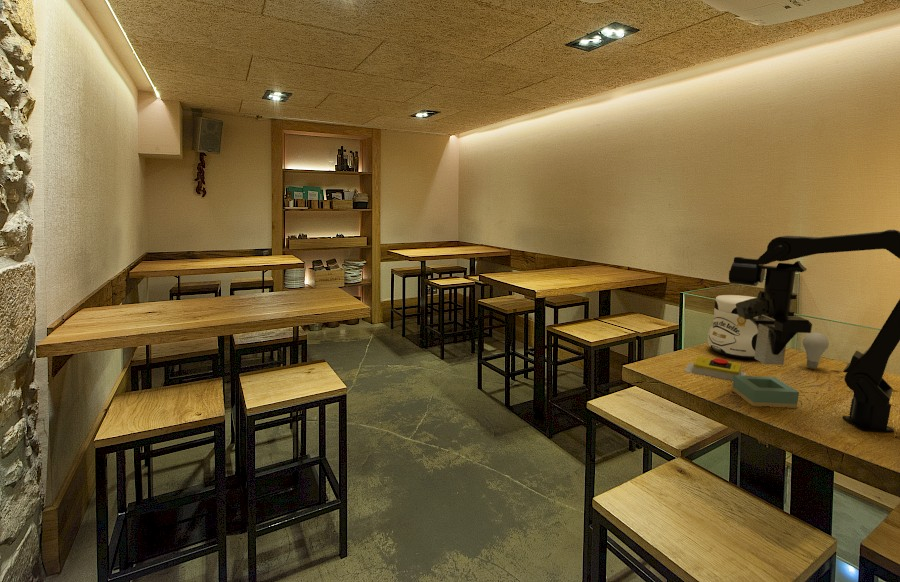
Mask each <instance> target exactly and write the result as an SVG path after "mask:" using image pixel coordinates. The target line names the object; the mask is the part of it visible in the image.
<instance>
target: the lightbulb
mask: <svg viewBox="0 0 900 582" xmlns="http://www.w3.org/2000/svg"><path fill="white" fill-rule="evenodd" d="M829 344H830V342H829V339H828V338H827V336H825V335H824V334H823V333H819V332H811V333H807V334H806V335H804V338H803V339H802V346H803V348H804V350H805V353H806V354H805V355H806V367H808V368H809V369H810V370H815V369H817V368H818V365H819V362H820V361H821V357H822V356H823V354H824V353H825V352H826V351H827V350H828V347H829V346H830V345H829Z"/></svg>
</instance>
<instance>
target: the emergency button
mask: <svg viewBox="0 0 900 582" xmlns="http://www.w3.org/2000/svg"><path fill="white" fill-rule="evenodd" d="M684 372H686V373H687V374H688V373H689V374H693V373H694V375H698V374H699V375H700V376H703V375H705V376H704V377H708V376H711V377H710V378H714V377H715V379H719V378H720V380H724V379H725V381H729V380H730V381H731V382H733V380H734V375H735V376H747V373H746V372H743V371H742V364H741V363H739V362H733V361H729V360H727V359H723V358H717V357H716V358H709V357H704V356H697V358H695V361H694V363H692V362H689V363H687V366H686V367H685V369H684Z"/></svg>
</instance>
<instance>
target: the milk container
mask: <svg viewBox="0 0 900 582" xmlns="http://www.w3.org/2000/svg"><path fill="white" fill-rule="evenodd" d="M757 297H758V296H757ZM757 297H756V296H749V295H738V294H722V295H717V296H716V297H715V302H714V308H713V318H712V319H713V320H712V323H711V326H710V327H709V330H708V333H707V342H708V346H709V348H710V349H711V350H713V351H714V352H716V353H718V354H722V355H723V356H729V357H733V358H738V359H755V358H754V357H755V349H756V341H757V333H758V329H757V326H756V325H755V324H754V323H753V322H752V321H751V320H750V319H744V318H743V317H740V316H739V315H738V312H737V308H736V303H739V302H742V301H745V300H749V299H753V298H757Z"/></svg>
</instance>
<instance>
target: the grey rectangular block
mask: <svg viewBox="0 0 900 582" xmlns="http://www.w3.org/2000/svg"><path fill="white" fill-rule="evenodd" d="M768 327H775V326H774V324H762V323H759V326H758V333H757V341H756V349H755V357H754V358H753V359H755V360H757V361H758V362H760V363H762V364H763V365H776V366H777V365H780V366H783V365H784V363H785V354H786V347H787V345H786V346H785V347H784V348H783V350H782V351H781V352H780V353H779V354H778V355H774V354H773V333H772V332H771V331H770V330H769V328H768Z"/></svg>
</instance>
